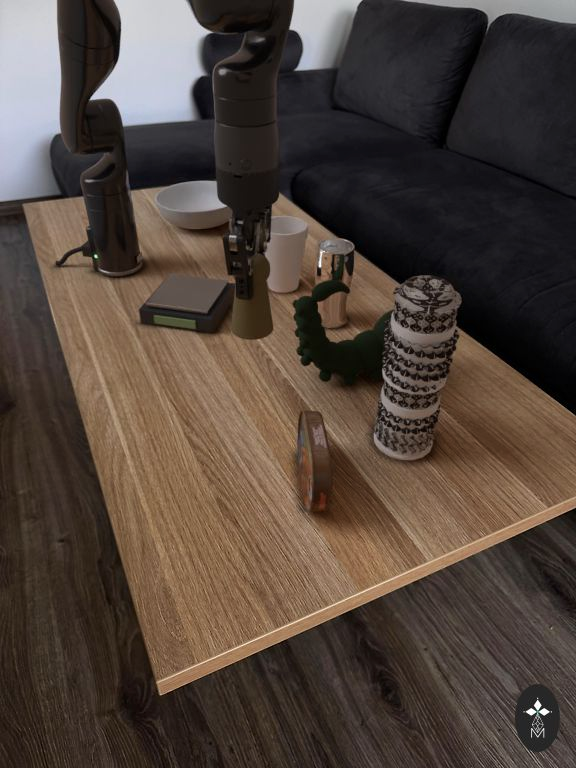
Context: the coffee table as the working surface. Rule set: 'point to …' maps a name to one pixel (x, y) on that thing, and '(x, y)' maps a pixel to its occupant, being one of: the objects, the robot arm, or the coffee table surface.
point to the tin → (314, 461)
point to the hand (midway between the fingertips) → (251, 287)
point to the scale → (189, 314)
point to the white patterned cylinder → (415, 365)
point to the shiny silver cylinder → (334, 277)
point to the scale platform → (187, 293)
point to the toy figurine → (345, 354)
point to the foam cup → (286, 252)
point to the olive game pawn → (254, 306)
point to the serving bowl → (193, 205)
